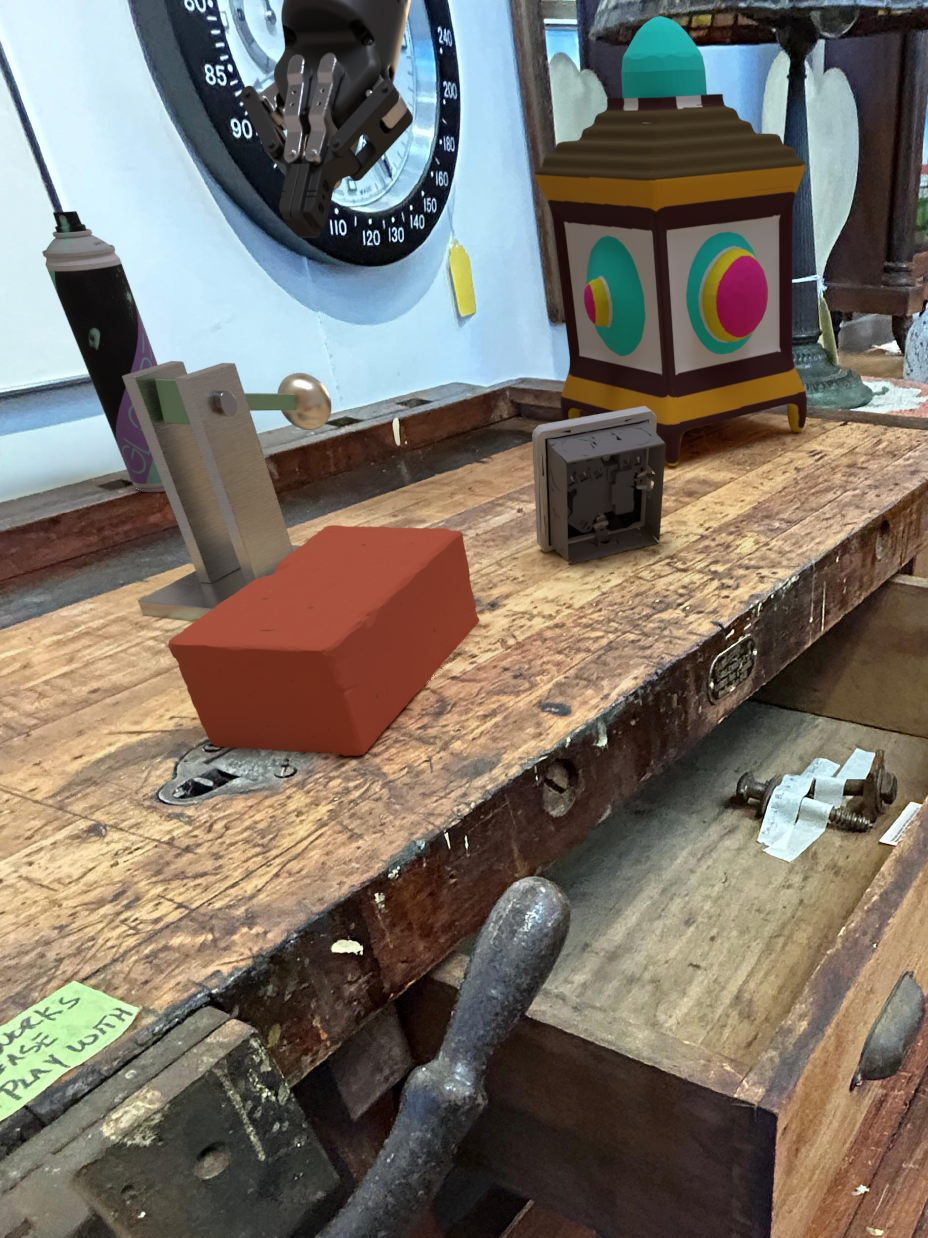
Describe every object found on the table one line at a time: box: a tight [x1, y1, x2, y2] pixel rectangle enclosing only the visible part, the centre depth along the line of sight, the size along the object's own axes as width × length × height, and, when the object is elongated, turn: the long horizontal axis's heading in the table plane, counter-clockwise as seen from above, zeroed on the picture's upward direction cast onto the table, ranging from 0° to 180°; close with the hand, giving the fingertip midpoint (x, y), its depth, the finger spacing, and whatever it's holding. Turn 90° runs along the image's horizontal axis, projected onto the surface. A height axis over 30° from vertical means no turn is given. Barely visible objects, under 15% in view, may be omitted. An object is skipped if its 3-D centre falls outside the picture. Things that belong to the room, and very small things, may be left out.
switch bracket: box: [122, 360, 301, 622], centre depth 68 cm, size 12×9×14 cm
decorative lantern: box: [534, 15, 808, 467], centre depth 91 cm, size 20×20×30 cm
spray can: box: [41, 210, 166, 493], centre depth 87 cm, size 6×6×20 cm
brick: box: [168, 524, 480, 757], centre depth 59 cm, size 18×9×6 cm, turn 170°
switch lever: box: [155, 372, 332, 431], centre depth 69 cm, size 14×4×4 cm, turn 162°
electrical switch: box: [531, 406, 666, 565], centre depth 74 cm, size 9×5×9 cm, turn 122°
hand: (300, 228), depth 71 cm, fingers closed
